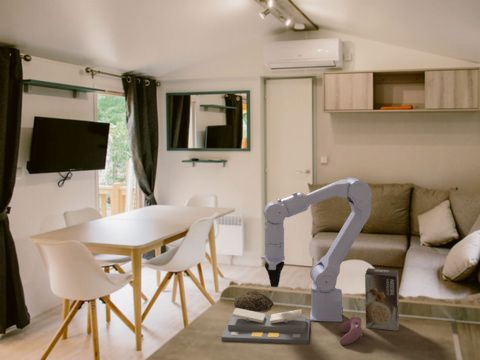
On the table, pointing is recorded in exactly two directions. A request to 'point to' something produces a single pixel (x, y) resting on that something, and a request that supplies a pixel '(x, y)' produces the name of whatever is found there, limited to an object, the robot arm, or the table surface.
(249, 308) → the bread roll
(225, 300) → the table surface
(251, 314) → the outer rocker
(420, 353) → the table surface
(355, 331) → the pink curved piece
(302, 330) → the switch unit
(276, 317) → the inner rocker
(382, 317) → the coffee box
